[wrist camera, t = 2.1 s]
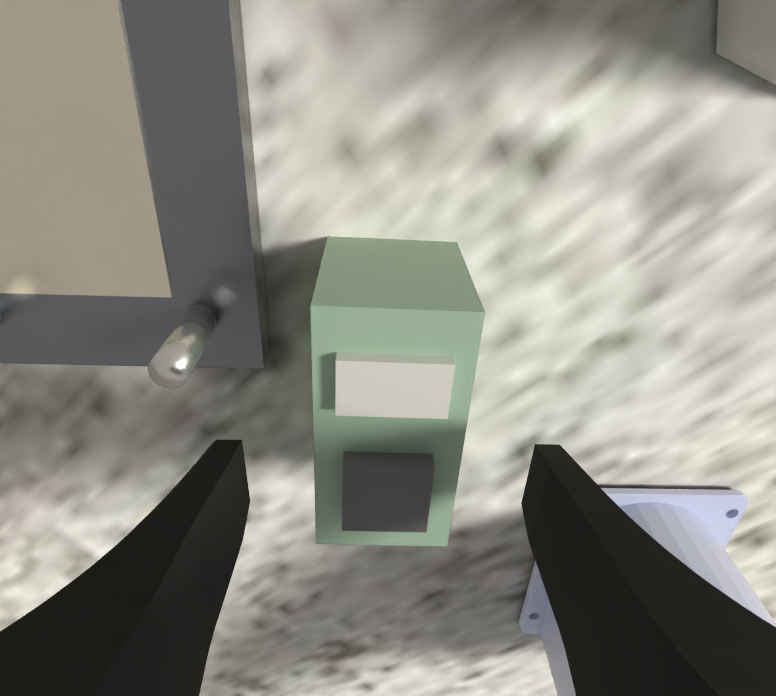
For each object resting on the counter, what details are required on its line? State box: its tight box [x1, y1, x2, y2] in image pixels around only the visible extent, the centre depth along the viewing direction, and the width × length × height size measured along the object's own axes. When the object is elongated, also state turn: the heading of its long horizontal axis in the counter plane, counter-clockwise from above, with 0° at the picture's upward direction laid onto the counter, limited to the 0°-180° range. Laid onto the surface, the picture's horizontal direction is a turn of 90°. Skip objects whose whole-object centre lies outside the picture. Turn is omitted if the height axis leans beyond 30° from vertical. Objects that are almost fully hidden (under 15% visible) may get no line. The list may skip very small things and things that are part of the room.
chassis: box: [0, 0, 270, 388], centre depth 13 cm, size 14×10×4 cm
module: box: [310, 236, 485, 546], centre depth 16 cm, size 8×4×6 cm, turn 177°
